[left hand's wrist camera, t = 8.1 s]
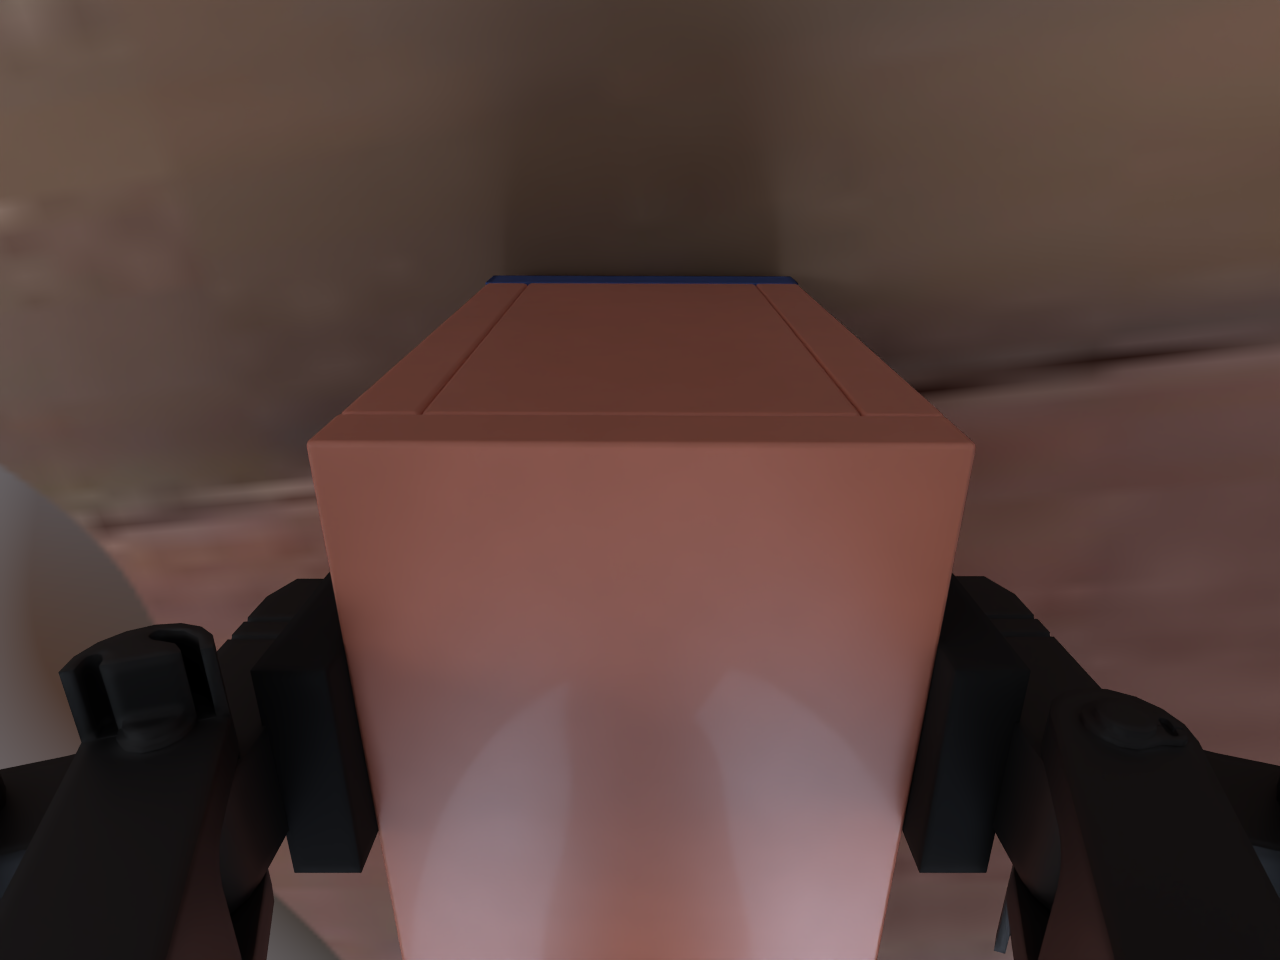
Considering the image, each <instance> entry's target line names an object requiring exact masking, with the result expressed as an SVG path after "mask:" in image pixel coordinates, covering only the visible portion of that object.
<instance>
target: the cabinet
mask: <svg viewBox="0 0 1280 960" xmlns="http://www.w3.org/2000/svg"><path fill="white" fill-rule="evenodd" d="M307 450H308V456H309V461H310V466H311V472H312V477H313V482H314V488H315V493H316V498H317V504H318V509H319V515H320V520H321V525H322V531H323V536H324V541H325V547H326V552H327V557H328V563H329V568H330V573H331V579H332V584H333V589H334V595H335V600H336V606H337V611H338V616H339V622H340V627H341V632H342V638H343V643H344V648H345V654H346V659H347V664H348V670H349V675H350V681H351V686H352V691H353V697H354V702H355V707H356V713H357V718H358V723H359V729H360V734H361V739H362V745H363V750H364V756H365V761H366V766H367V772H368V777H369V782H370V788H371V793H372V798H373V804H374V809H375V814H376V820H377V825H378V830H379V836H380V841H381V847H382V852H383V857H384V863H385V868H386V873H387V879H388V884H389V889H390V895H391V900H392V905H393V911H394V916H395V922H396V927H397V932H398V938H399V943H400V948H401V954H402V959H403V960H877V956H878V951H879V946H880V941H881V936H882V931H883V925H884V920H885V915H886V910H887V905H888V900H889V895H890V889H891V884H892V879H893V874H894V869H895V864H896V858H897V853H898V848H899V843H900V838H901V833H902V828H903V822H904V817H905V812H906V807H907V802H908V797H909V791H910V786H911V781H912V776H913V771H914V766H915V760H916V755H917V750H918V745H919V740H920V735H921V730H922V724H923V719H924V714H925V709H926V704H927V699H928V693H929V688H930V683H931V678H932V673H933V668H934V663H935V657H936V652H937V647H938V642H939V637H940V632H941V626H942V621H943V616H944V611H945V606H946V601H947V596H948V590H949V585H950V580H951V575H952V570H953V565H954V559H955V554H956V549H957V544H958V539H959V534H960V529H961V523H962V518H963V513H964V508H965V503H966V498H967V492H968V487H969V482H970V477H971V472H972V467H973V461H974V456H975V451H976V446H975V443H974V442H973V441H972V440H970V439H969V438H968V437H967V436H966V435H965V434H964V433H963V432H961V431H960V430H959V429H958V428H957V427H956V426H955V425H954V424H952V423H951V422H950V421H949V420H948V419H947V418H945V417H943V414H942V413H941V412H940V411H938V410H937V409H936V408H935V407H934V406H933V405H932V404H931V403H929V402H928V401H927V400H926V399H925V398H924V397H923V396H922V395H921V394H919V393H918V392H917V391H916V390H915V389H914V388H913V387H912V386H910V385H909V384H908V383H907V382H906V381H905V380H904V379H903V378H901V377H900V376H899V375H898V374H897V373H896V372H895V371H894V370H892V369H891V368H890V367H889V366H888V365H887V364H886V363H885V362H883V361H882V360H881V359H880V358H879V357H878V356H877V355H876V354H874V353H873V352H872V351H871V350H870V349H869V348H868V347H867V346H866V345H864V344H863V343H862V342H861V341H860V340H859V339H858V338H857V337H855V336H854V335H853V334H852V333H851V332H850V331H849V330H848V329H846V328H845V327H844V326H843V325H842V324H841V323H840V322H839V321H837V320H836V319H835V318H834V317H833V316H832V315H831V314H830V313H828V312H827V311H826V310H825V309H824V308H823V307H822V306H821V305H819V304H818V303H817V302H816V301H815V300H814V299H813V298H812V297H811V296H809V295H808V294H807V293H806V292H805V291H804V290H803V289H802V288H800V287H799V286H798V283H797V282H796V281H795V280H794V279H792V278H791V277H776V276H493V277H492V278H490V279H489V280H488V281H487V282H486V286H484V287H483V288H482V289H481V290H480V291H479V292H478V293H477V294H475V295H474V296H473V297H472V298H471V299H470V300H469V301H467V302H466V303H465V304H464V305H463V306H462V307H461V308H460V309H458V310H457V311H456V312H455V313H454V314H453V315H452V316H450V317H449V318H448V319H447V320H446V321H445V322H444V323H443V324H441V325H440V326H439V327H438V328H437V329H436V330H435V331H434V332H432V333H431V334H430V335H429V336H428V337H427V338H426V339H424V340H423V341H422V342H421V343H420V344H419V345H418V346H417V347H415V348H414V349H413V350H412V351H411V352H410V353H409V354H407V355H406V356H405V357H404V358H403V359H402V360H401V361H400V362H398V363H397V364H396V365H395V366H394V367H393V368H392V369H390V370H389V371H388V372H387V373H386V374H385V375H384V376H383V377H381V378H380V379H379V380H378V381H377V382H376V383H375V384H374V385H372V386H371V387H370V388H369V389H368V390H367V391H366V392H364V393H363V394H362V395H361V396H360V397H359V398H358V399H357V400H355V401H354V402H353V403H352V404H351V405H350V406H349V407H347V408H346V409H345V410H344V411H343V412H342V414H340V415H338V416H336V417H335V418H334V419H333V420H331V421H330V422H329V423H328V424H327V425H326V426H325V427H323V428H322V429H321V430H320V431H319V432H318V433H317V434H316V435H314V436H313V437H312V438H311V439H310V440H309V441H308V443H307Z"/></svg>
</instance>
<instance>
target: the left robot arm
mask: <svg viewBox="0 0 1280 960" xmlns="http://www.w3.org/2000/svg"><path fill="white" fill-rule="evenodd" d="M59 675H60V678H61V681H62V684H63V688H64V691H65V694H66V697H67V700H68V703H69V706H70V709H71V712H72V715H73V718H74V721H75V724H76V727H77V730H78V733H79V736H80V739H81V742H82V743H81V745H80V747H79V749H78V751H77V753H76V754H73V755H70V756H65V757H60V758H55V759H50V760H45V761H41V762H35V763H31V764H26V765H21V766H16V767H11V768H6V769H1V770H0V960H266V959H267V951H268V944H269V936H270V928H271V921H272V913H273V906H274V897H273V890H272V883H271V879H270V875H269V871H268V868H269V866H270V864H271V862H272V860H273V858H274V857H275V855H276V853H277V851H278V849H279V847H280V846H281V844H282V842H283V840H284V838H285V836H287V840H288V845H289V849H290V854H291V859H292V863H293V868H294V872H295V873H361V872H362V870H363V867H364V865H365V862H366V860H367V857H368V855H369V852H370V850H371V847H372V845H373V843H374V840H375V838H376V835H377V833H378V825H377V820H376V814H375V809H374V804H373V798H372V793H371V788H370V782H369V777H368V772H367V766H366V761H365V756H364V750H363V745H362V739H361V734H360V729H359V723H358V718H357V713H356V707H355V702H354V697H353V691H352V686H351V681H350V675H349V670H348V664H347V659H346V654H345V648H344V643H343V638H342V632H341V627H340V622H339V616H338V611H337V606H336V600H335V595H334V589H333V584H332V579H331V573H330V572H329V573H328V574H327V576H326V577H325V578H324V579H296V580H294V581H293V582H291V583H289V584H288V585H286V586H284V587H282V588H281V589H279V590H277V591H276V592H274V593H272V594H271V595H269V596H267V597H266V598H265V599H264V600H263V601H262V603H261V604H260V605H259V606H258V607H257V608H256V609H255V610H254V611H253V612H252V614H251V615H250V616H249V617H248V622H243V623H242V625H241V626H240V627H239V628H238V629H237V630H236V631H235V632H234V633H233V634H232V639H231V640H227V641H226V642H225V643H224V644H223V645H222V647H221V648H220V649H219V650H218V651H216V647H215V643H214V638H213V635H212V634H211V633H209V632H208V631H206V630H205V629H204V628H202V627H200V626H195V625H189V624H183V623H176V624H160V625H152V626H148V627H144V628H139V629H135V630H130V631H126V632H124V633H121V634H118V635H116V636H113V637H111V638H108V639H105V640H103V641H100V642H98V643H96V644H94V645H93V646H91V647H89V648H88V649H86V650H84V651H83V652H81V653H79V654H78V655H76V656H74V657H73V658H72V659H71V660H70V661H69V662H68V663H67V664H66V665H65V666H64V667H63V668H62V669H61V670H60V671H59ZM902 831H903V833H904V835H905V838H906V840H907V843H908V845H909V848H910V850H911V853H912V855H913V858H914V860H915V863H916V865H917V867H918V870H919V872H920V873H986V872H987V867H988V863H989V858H990V854H991V849H992V845H993V840H994V836H995V833H996V834H997V836H998V838H999V840H1000V842H1001V844H1002V845H1003V847H1004V849H1005V851H1006V853H1007V854H1008V856H1009V858H1010V860H1011V862H1012V864H1013V866H1012V871H1011V875H1010V879H1009V883H1008V887H1007V892H1006V896H1005V900H1004V904H1003V909H1002V913H1001V917H1000V921H999V925H998V930H997V934H996V941H995V948H994V951H997V952H1001V953H1005V952H1006V948H1007V944H1008V940H1009V936H1010V935H1011V942H1012V949H1013V957H1014V960H1280V766H1277V765H1272V764H1268V763H1263V762H1258V761H1253V760H1248V759H1243V758H1238V757H1233V756H1228V755H1223V754H1218V753H1213V752H1210V751H1206V750H1203V749H1202V747H1201V745H1200V743H1199V742H1198V740H1197V739H1196V738H1195V737H1194V735H1193V734H1192V733H1191V732H1190V731H1189V729H1188V728H1187V727H1186V726H1185V724H1183V723H1182V722H1180V721H1179V720H1177V719H1176V718H1175V717H1173V716H1172V715H1170V714H1169V713H1167V712H1166V711H1165V710H1163V709H1161V708H1159V707H1157V706H1155V705H1153V704H1150V703H1148V702H1146V701H1144V700H1142V699H1139V698H1137V697H1135V696H1131V695H1127V694H1123V693H1120V692H1116V691H1112V690H1108V689H1101V688H1100V687H1099V686H1098V684H1097V683H1096V682H1095V681H1094V680H1093V679H1092V678H1091V677H1090V676H1089V675H1088V674H1087V672H1086V671H1085V670H1084V669H1083V668H1082V667H1081V666H1080V665H1079V664H1078V663H1077V662H1076V660H1075V659H1074V658H1073V657H1072V656H1071V655H1070V654H1069V653H1068V652H1067V651H1066V650H1065V648H1064V647H1063V646H1062V645H1061V644H1060V643H1059V642H1058V641H1057V640H1056V639H1055V638H1054V637H1050V632H1049V631H1048V630H1047V629H1046V628H1045V627H1044V626H1043V624H1042V623H1041V622H1040V621H1039V620H1038V619H1034V615H1033V614H1032V612H1031V611H1030V610H1029V609H1028V608H1027V607H1026V606H1025V605H1024V604H1023V603H1022V602H1021V600H1020V599H1019V598H1018V597H1017V596H1016V595H1015V594H1014V593H1012V592H1010V591H1008V590H1007V589H1005V588H1003V587H1002V586H1000V585H998V584H996V583H995V582H993V581H991V580H990V579H988V578H986V577H984V576H954V575H953V573H952V575H951V580H950V585H949V590H948V596H947V601H946V606H945V611H944V616H943V621H942V626H941V632H940V637H939V642H938V647H937V652H936V657H935V663H934V668H933V673H932V678H931V683H930V688H929V693H928V699H927V704H926V709H925V714H924V719H923V724H922V730H921V735H920V740H919V745H918V750H917V755H916V760H915V766H914V771H913V776H912V781H911V786H910V791H909V797H908V802H907V807H906V812H905V817H904V822H903V828H902Z"/></svg>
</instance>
